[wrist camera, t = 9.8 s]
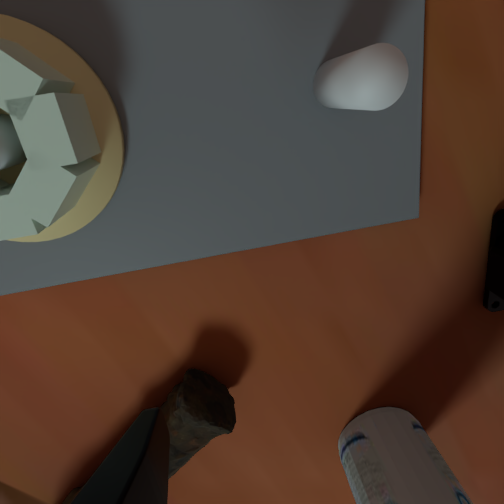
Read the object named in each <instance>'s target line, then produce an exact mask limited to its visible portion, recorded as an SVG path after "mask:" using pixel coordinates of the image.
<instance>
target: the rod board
mask: <svg viewBox="0 0 504 504" xmlns="http://www.w3.org/2000/svg"><path fill="white" fill-rule="evenodd" d="M424 12H425V0H0V38H3V39H6V40H9V41H13V42H16V43H18V44H19V45H21V46H22V47H24V48H25V49H27V50H28V51H30V52H31V53H32V54H34V55H35V56H37V57H38V58H40V59H41V60H43V61H44V62H46V63H47V64H48V65H50V66H51V67H53V68H54V69H56V70H57V71H59V72H60V73H61V74H63V75H64V76H66V77H67V78H69V79H70V80H72V81H73V82H74V83H75V84H74V86H73V88H72V90H71V92H70V93H72V94H83V95H84V98H85V101H86V104H87V107H88V111H89V114H90V117H91V120H92V124H93V127H94V130H95V133H96V137H97V140H98V143H99V146H100V150H101V153H99V154H97V155H95V156H92V157H91V158H93V159H94V160H96V161H97V162H99V163H100V165H99V167H98V168H97V170H96V172H95V173H94V175H93V177H92V179H91V180H90V182H89V184H88V185H87V187H86V189H85V190H84V192H83V194H82V196H81V197H80V199H79V201H78V202H77V204H76V206H75V207H74V208H72V209H71V210H70V211H68V212H67V213H66V214H65V215H63V216H62V217H61V218H59V219H58V220H57V221H56V222H54V223H53V224H52V225H50V226H49V227H47V228H45V229H44V230H43V231H41V232H40V233H39V234H36V235H31V236H25V237H19V238H14V239H8V240H2V241H0V295H6V294H11V293H16V292H22V291H27V290H32V289H38V288H43V287H49V286H54V285H59V284H65V283H70V282H75V281H81V280H86V279H92V278H97V277H102V276H108V275H113V274H118V273H124V272H129V271H135V270H140V269H145V268H151V267H156V266H161V265H167V264H172V263H178V262H183V261H188V260H194V259H199V258H204V257H210V256H215V255H220V254H226V253H231V252H237V251H242V250H247V249H253V248H258V247H263V246H269V245H274V244H280V243H285V242H290V241H296V240H301V239H306V238H312V237H317V236H323V235H328V234H333V233H339V232H344V231H349V230H355V229H360V228H366V227H371V226H376V225H382V224H387V223H392V222H398V221H403V220H409V219H414V218H419V189H420V154H421V118H422V83H423V48H424ZM26 161H27V158H26V155H25V152H24V150H23V147H22V145H21V142H20V140H19V137H18V134H17V132H16V129H15V127H14V124H13V122H12V119H11V117H10V114H9V113H7V112H6V111H4V110H3V109H1V108H0V179H2V180H3V181H5V182H7V183H9V184H13V183H15V182H16V180H17V178H18V176H19V174H20V172H21V171H22V169H23V167H24V165H25V163H26Z"/></svg>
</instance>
